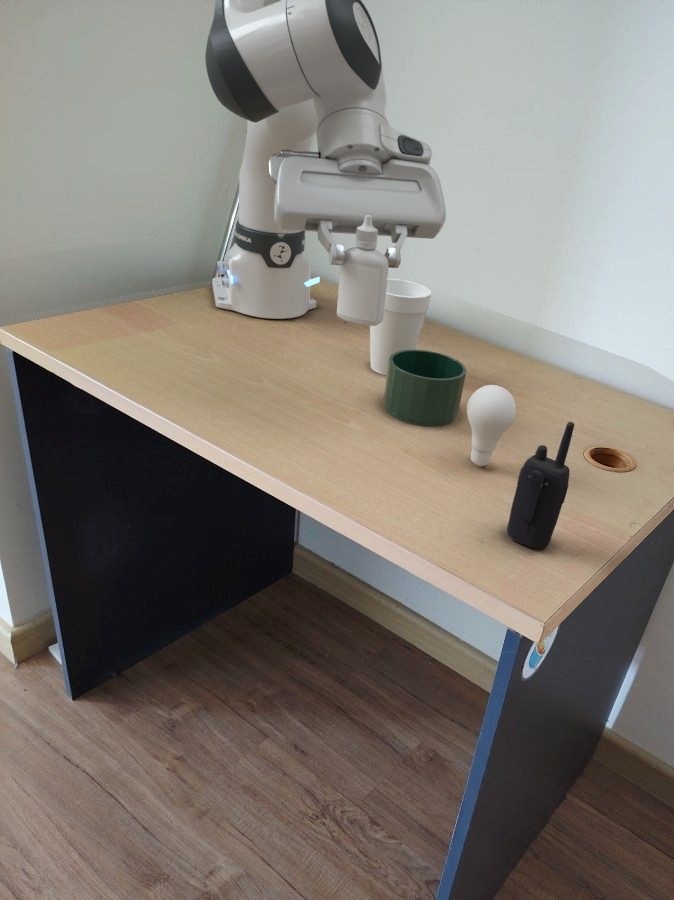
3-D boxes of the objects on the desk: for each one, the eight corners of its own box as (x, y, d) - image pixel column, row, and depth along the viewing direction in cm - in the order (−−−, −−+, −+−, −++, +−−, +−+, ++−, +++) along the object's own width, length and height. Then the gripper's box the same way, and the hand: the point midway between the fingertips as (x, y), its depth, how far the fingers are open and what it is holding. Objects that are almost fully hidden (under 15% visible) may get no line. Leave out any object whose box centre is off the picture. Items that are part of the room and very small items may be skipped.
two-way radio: (554, 544, 86) (591, 424, 77) (538, 560, 82) (574, 436, 74) (512, 524, 88) (543, 405, 80) (494, 539, 85) (524, 417, 76)
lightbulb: (463, 449, 102) (479, 372, 96) (506, 463, 101) (526, 385, 95) (449, 468, 97) (465, 388, 91) (494, 482, 96) (514, 402, 90)
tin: (371, 395, 113) (376, 350, 109) (435, 391, 117) (443, 348, 114) (403, 429, 105) (410, 381, 101) (471, 423, 110) (480, 377, 106)
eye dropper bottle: (359, 329, 90) (368, 222, 83) (331, 314, 93) (338, 210, 86) (387, 325, 92) (399, 221, 85) (359, 310, 95) (368, 209, 89)
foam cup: (382, 383, 117) (393, 299, 110) (349, 360, 123) (358, 279, 116) (430, 376, 122) (443, 295, 115) (396, 355, 128) (408, 277, 121)
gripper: (270, 129, 85) (279, 244, 82) (443, 146, 90) (456, 254, 88) (264, 166, 90) (273, 273, 88) (427, 179, 96) (439, 281, 94)
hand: (366, 264), depth 88 cm, fingers closed on eye dropper bottle, 5 cm apart
